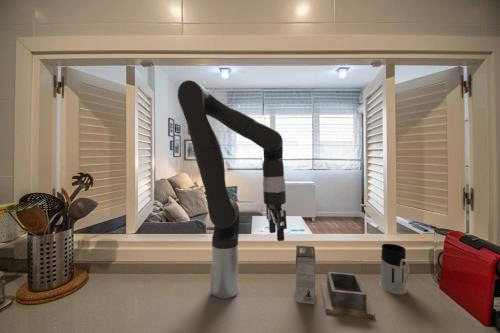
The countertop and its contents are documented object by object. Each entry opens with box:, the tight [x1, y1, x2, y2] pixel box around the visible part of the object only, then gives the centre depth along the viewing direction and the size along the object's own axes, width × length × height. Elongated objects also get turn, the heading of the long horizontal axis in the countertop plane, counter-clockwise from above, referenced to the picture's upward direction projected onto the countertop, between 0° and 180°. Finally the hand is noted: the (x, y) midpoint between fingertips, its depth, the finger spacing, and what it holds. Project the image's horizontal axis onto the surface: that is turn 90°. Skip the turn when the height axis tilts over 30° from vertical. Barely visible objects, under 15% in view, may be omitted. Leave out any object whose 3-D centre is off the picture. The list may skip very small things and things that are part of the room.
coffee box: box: [295, 245, 316, 305], centre depth 82 cm, size 9×6×16 cm
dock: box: [320, 271, 376, 320], centre depth 80 cm, size 14×16×6 cm
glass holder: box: [378, 243, 410, 295], centre depth 84 cm, size 9×14×15 cm, turn 174°
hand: (276, 236), depth 81 cm, fingers open, 8 cm apart
